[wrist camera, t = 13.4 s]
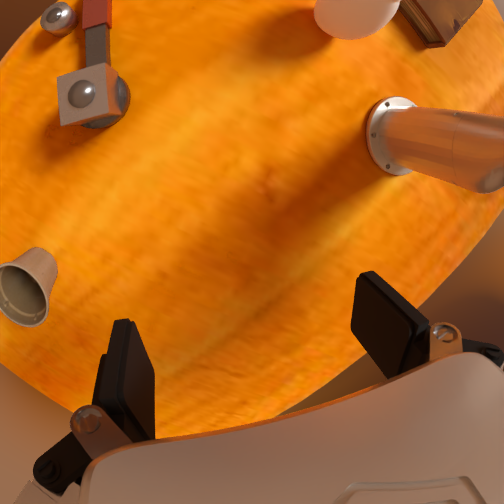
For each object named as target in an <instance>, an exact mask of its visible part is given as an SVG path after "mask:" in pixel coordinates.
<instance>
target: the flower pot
mask: <svg viewBox="0 0 504 504" xmlns="http://www.w3.org/2000/svg"><path fill="white" fill-rule="evenodd" d="M57 272H58V270H57V264H56V262H55V260H54V258H53V256H52V255H51V254H50V253H48V252H46V251H45V250H43V249H42V248H38V247H35V248H31V249H29V250H28V251H27V252H25V253H24V254H22V255H21V256H19V257H18V258H17V259H15V260H14V261H12V262H8V263H3V264H1V265H0V310H1V311H2V313H3V314H4V315H5V316H6V317H7V318H9V319H10V320H11V321H13V322H14V323H16V324H18V325H21V326H24V327H35V326H38V325H40V324H42V323H43V322H44V321H45V319H46V317H47V315H48V312H49V296H50V293H51V290H52V287H53V285H54V282H55V280H56V277H57Z"/></svg>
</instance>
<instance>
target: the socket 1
mask: <svg viewBox="0 0 504 504" xmlns="http://www.w3.org/2000/svg"><path fill="white" fill-rule="evenodd" d="M78 20H79V18H78V15H77V13H76V12H75V11H74V10H73V9H72V8H71V7H70V6H68V5H67V4H66V3H65V2H57V3H55V4H53V5H51V6H50V7H48V8H47V9H46V10H45V12H44V13H43V15H42V17H41V21H40V24H41V26H42V28H43V29H45V30H47V31H48V32H50V33H51V34H53V35H55V36H56V37H64V36H66V35H68V34H70V33H71V32H72V31H73V30H74V29H75V28H76V26H77V24H78Z"/></svg>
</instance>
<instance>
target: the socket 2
mask: <svg viewBox="0 0 504 504" xmlns="http://www.w3.org/2000/svg"><path fill="white" fill-rule="evenodd" d="M57 90H58V104H59V114H60V124H61V126H73V125H82V124H86V123H90V122H93V121H97V120H101V119H105V118H109V117H113V116H117V115H121V106H120V95H119V83H118V72H117V71H115V70H114V69H113V68H112V67H110V66H109V65H108V64H106V63H101V64H97V65H94V66H90V67H87V68H84V69H80V70H77V71H74V72H71V73H68V74H65V75H62V76H59V77H57Z"/></svg>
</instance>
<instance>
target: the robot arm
mask: <svg viewBox="0 0 504 504" xmlns="http://www.w3.org/2000/svg"><path fill="white" fill-rule="evenodd" d="M366 140H367V146H368V149H369V152H370V154H371V157H372V159H373V160H374V161H375V163H376V164H377V165H378V166H379V167H380V168H381V169H382V170H384V171H385V172H388V173H390V174H394V175H405V174H408V173H410V172H412V171H417V172H420V173H423V174H426V175H429V176H432V177H435V178H438V179H440V180H443V181H446V182H449V183H452V184H454V185H457V186H460V187H462V188H465V189H468V190H471V191H473V192H476V193H482V194H486V193H491V192H494V191H496V190H498V189H500V188H502V187H503V186H504V116H496V115H489V114H482V113H475V112H467V111H458V110H449V109H438V108H425V107H417V106H416V105H415V104H414V103H413V102H412V101H410V100H408V99H406V98H403V97H398V96H393V97H387V98H384V99H382V100H381V101H380V102H378V103H377V104H376V105H375V106H374V108H373V109H372V111H371V113H370V115H369V118H368V121H367V127H366ZM428 324H429V320H428V319H426V318H425V317H424V316H423V315H422V314H421V313H420V312H419V311H418V310H417V309H416V308H415V307H414V306H412V305H411V304H410V303H409V302H408V301H407V300H406V299H405V298H404V297H403V296H401V295H400V294H399V293H398V292H397V291H396V290H395V289H394V288H393V287H391V286H390V285H389V284H388V283H387V282H386V281H385V280H383V279H382V278H381V277H380V276H379V275H378V274H377V273H375V272H374V271H368V272H364V273H361V274H360V275H359V277H358V278H357V279H356V287H355V295H354V303H353V311H352V318H351V331H352V333H353V334H354V335H355V337H356V338H357V339H358V341H359V342H360V343H361V345H362V346H363V347H364V349H365V350H366V351H367V353H368V354H369V355H370V356H371V358H372V359H373V360H374V362H375V363H376V364H377V366H378V367H379V368H380V369H381V371H382V372H383V374H384V375H385V376H386V378H387V379H388V380H386V381H383V382H381V383H378V384H376V385H373V386H371V387H368V388H366V389H363V390H360V391H358V392H355V393H352V394H350V395H347V396H344V397H341V398H338V399H335V400H333V401H330V402H327V403H323V404H320V405H317V406H314V407H311V408H308V409H304V410H301V411H297V412H294V413H290V414H287V415H283V416H279V417H275V418H271V419H267V420H263V421H259V422H254V423H250V424H245V425H241V426H236V427H231V428H226V429H220V430H214V431H208V432H203V433H197V434H190V435H183V436H176V437H168V438H161V439H155V374H154V369H153V366H152V364H151V362H150V359H149V357H148V355H147V352H146V350H145V347H144V345H143V342H142V340H141V337H140V335H139V332H138V329H137V327H136V324H135V322H134V321H132V322H130V320H129V319H128V318H127V319H120V320H115V321H114V324H113V329H112V333H111V337H110V342H109V346H108V351H107V354H103V355H102V356H101V359H100V364H99V368H98V373H97V378H96V383H95V388H94V393H93V399H92V405H86V406H82V407H80V408H79V409H77V410H76V411H75V412H74V413H73V415H72V417H71V420H70V428H71V430H72V432H70V433H69V434H68V435H67V436H65V437H64V438H63V439H62V440H61V441H59V442H58V443H57V444H55V445H54V446H53V447H52V448H50V449H49V450H48V451H47V452H45V453H44V454H43V455H42V456H40V457H39V458H38V459H37V460H36V462H35V464H34V467H33V475H34V480H33V481H32V482H31V481H28V483H27V484H26V485H25V487H24V489H23V490H22V491H21V493H20V494H19V496H18V498H17V499H16V501H15V502H14V504H504V353H503V352H502V350H500V348H499V347H497V346H495V345H493V344H489V343H483V342H478V341H472V340H467V339H462V338H461V333H460V331H459V330H458V329H457V328H456V327H455V326H454V325H452V324H450V323H445V322H439V323H436V324H434V325H433V326H432V327H430V326H429V325H428Z"/></svg>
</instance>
